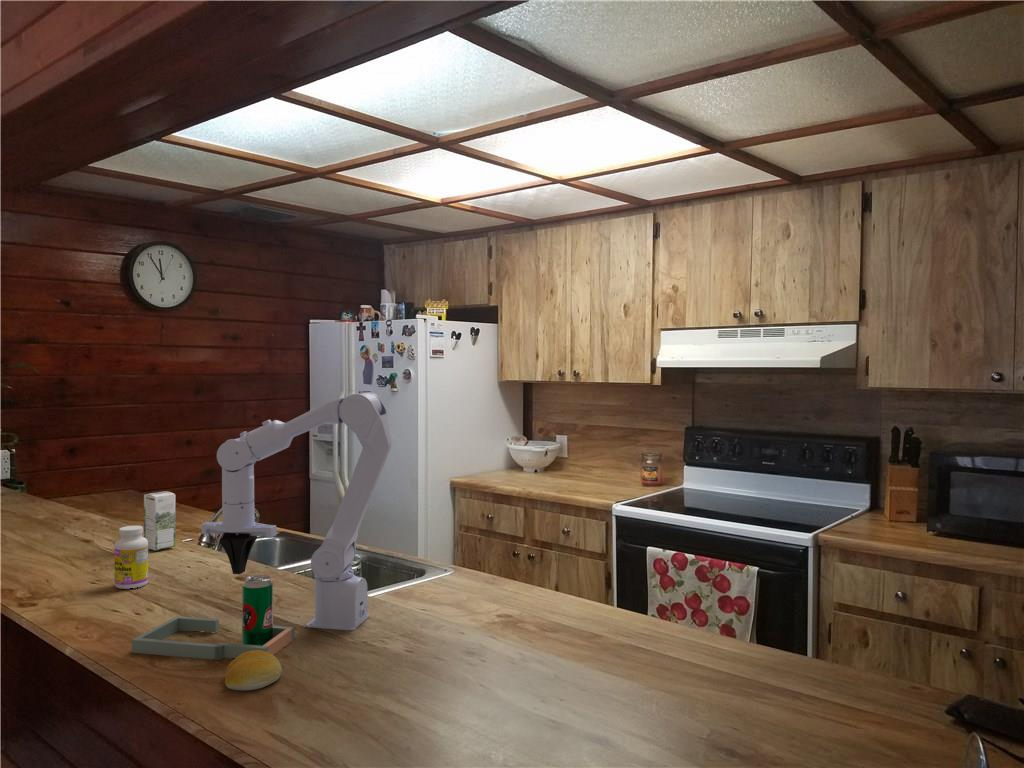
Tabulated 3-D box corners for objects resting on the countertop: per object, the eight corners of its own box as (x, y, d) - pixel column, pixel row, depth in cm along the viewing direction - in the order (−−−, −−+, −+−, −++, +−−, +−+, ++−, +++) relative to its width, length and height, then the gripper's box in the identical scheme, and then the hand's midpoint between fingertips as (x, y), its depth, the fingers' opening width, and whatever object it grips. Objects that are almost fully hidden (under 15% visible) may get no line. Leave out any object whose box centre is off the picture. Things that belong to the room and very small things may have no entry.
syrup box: (164, 543, 202) (163, 490, 201) (176, 546, 198) (175, 492, 198) (143, 547, 197) (143, 493, 197) (155, 551, 194) (154, 495, 193)
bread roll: (224, 696, 109) (223, 669, 109) (226, 674, 117) (225, 649, 117) (283, 687, 112) (281, 660, 111) (281, 666, 120) (280, 641, 120)
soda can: (270, 651, 127) (270, 581, 126) (239, 653, 126) (239, 582, 126) (275, 641, 132) (275, 573, 132) (245, 642, 131) (245, 574, 131)
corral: (297, 639, 133) (296, 625, 132) (261, 666, 121) (261, 650, 121) (177, 629, 137) (177, 615, 137) (132, 654, 125) (131, 639, 125)
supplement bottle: (107, 587, 162) (106, 529, 162) (133, 579, 168) (132, 523, 168) (130, 591, 160) (129, 532, 159) (155, 583, 166) (154, 525, 166)
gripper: (284, 499, 143) (284, 569, 144) (216, 496, 146) (216, 564, 146) (265, 506, 136) (265, 579, 137) (194, 503, 139) (194, 574, 140)
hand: (239, 572), depth 141 cm, fingers closed
